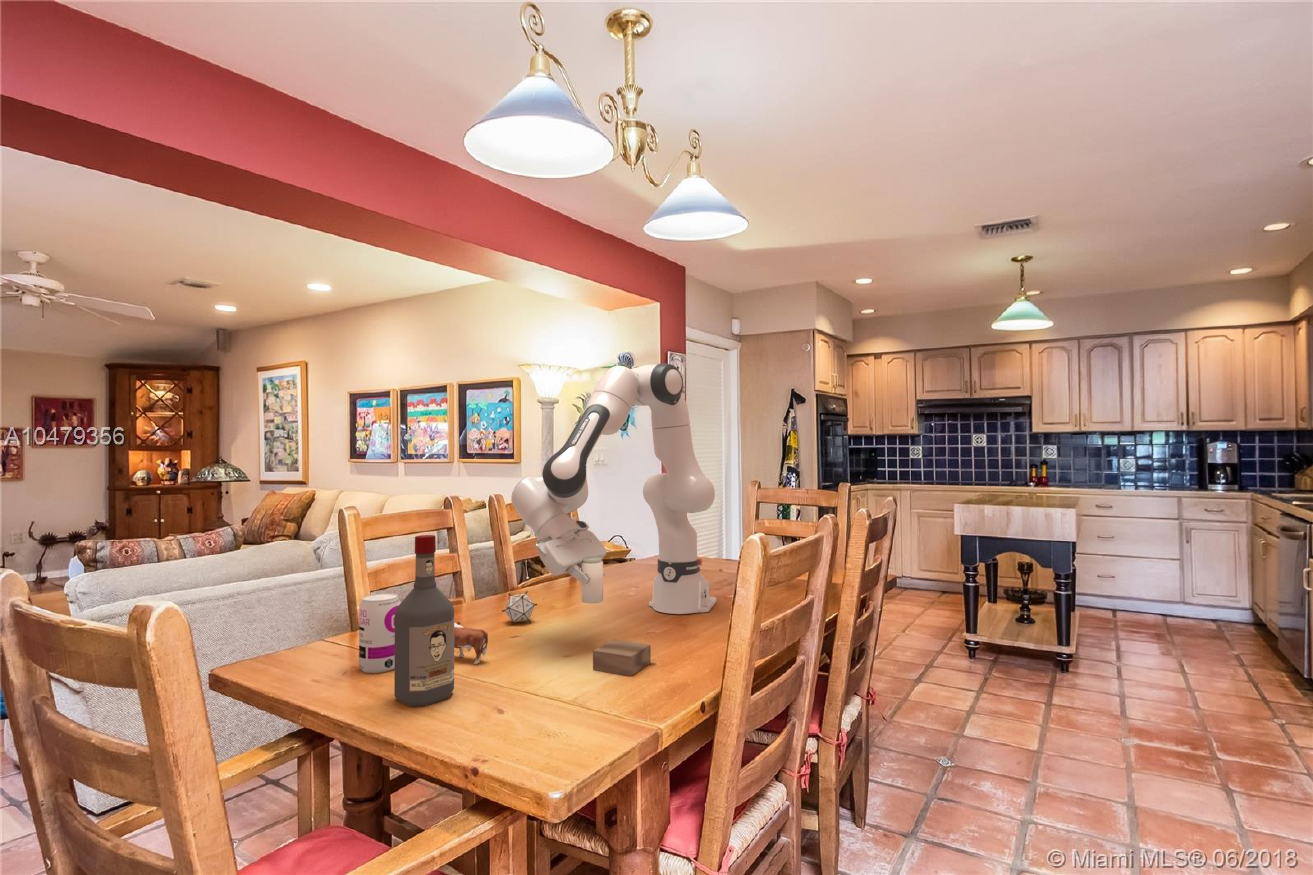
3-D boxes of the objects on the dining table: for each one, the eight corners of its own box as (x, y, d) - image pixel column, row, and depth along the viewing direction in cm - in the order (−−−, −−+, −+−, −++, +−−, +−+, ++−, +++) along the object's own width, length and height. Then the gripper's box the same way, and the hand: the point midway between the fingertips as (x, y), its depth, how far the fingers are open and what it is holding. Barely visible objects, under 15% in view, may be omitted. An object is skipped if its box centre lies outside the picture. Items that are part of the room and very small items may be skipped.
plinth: (614, 657, 146) (614, 639, 146) (650, 663, 142) (650, 644, 142) (592, 669, 138) (592, 650, 138) (630, 676, 134) (630, 656, 134)
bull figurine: (449, 652, 151) (449, 616, 151) (492, 661, 144) (492, 624, 144) (434, 657, 147) (434, 620, 147) (477, 667, 140) (477, 628, 140)
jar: (589, 597, 155) (588, 555, 155) (607, 599, 153) (606, 557, 153) (577, 602, 151) (576, 559, 151) (596, 604, 149) (595, 560, 149)
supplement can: (408, 663, 143) (408, 593, 143) (383, 676, 135) (383, 602, 135) (376, 660, 145) (377, 591, 145) (349, 672, 137) (350, 600, 137)
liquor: (389, 697, 123) (389, 536, 123) (433, 684, 130) (434, 531, 130) (414, 710, 117) (415, 541, 117) (459, 695, 124) (460, 535, 124)
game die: (524, 638, 174) (531, 612, 169) (494, 626, 175) (501, 600, 169) (536, 614, 182) (543, 589, 177) (508, 603, 182) (514, 577, 177)
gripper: (540, 531, 146) (577, 579, 141) (589, 521, 164) (624, 563, 160) (524, 550, 148) (560, 598, 143) (574, 538, 166) (608, 580, 162)
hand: (594, 579), depth 152 cm, fingers closed on jar, 5 cm apart
